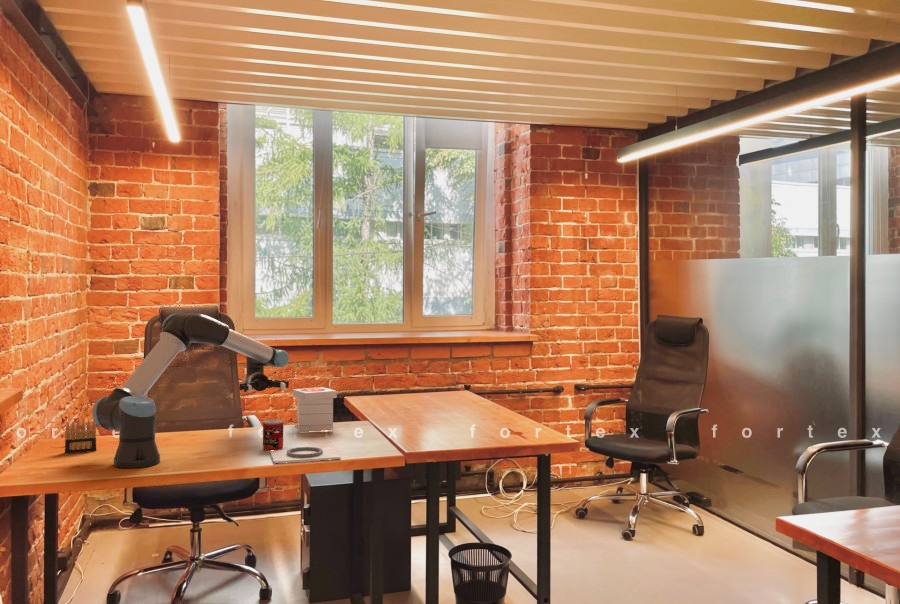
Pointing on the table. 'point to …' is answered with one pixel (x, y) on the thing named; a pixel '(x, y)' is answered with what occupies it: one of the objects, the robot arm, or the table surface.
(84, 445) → the ammunition clip
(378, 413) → the table surface
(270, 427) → the canned food
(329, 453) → the carrier plate
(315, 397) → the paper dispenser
